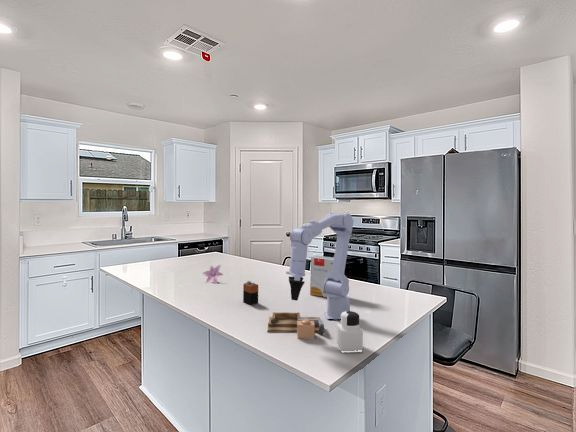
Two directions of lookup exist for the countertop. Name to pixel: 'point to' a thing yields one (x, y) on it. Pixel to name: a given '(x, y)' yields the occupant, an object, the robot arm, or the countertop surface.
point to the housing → (286, 322)
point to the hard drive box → (320, 274)
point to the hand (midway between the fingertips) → (294, 298)
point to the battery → (250, 293)
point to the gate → (316, 321)
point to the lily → (213, 273)
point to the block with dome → (305, 329)
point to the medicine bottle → (349, 332)
